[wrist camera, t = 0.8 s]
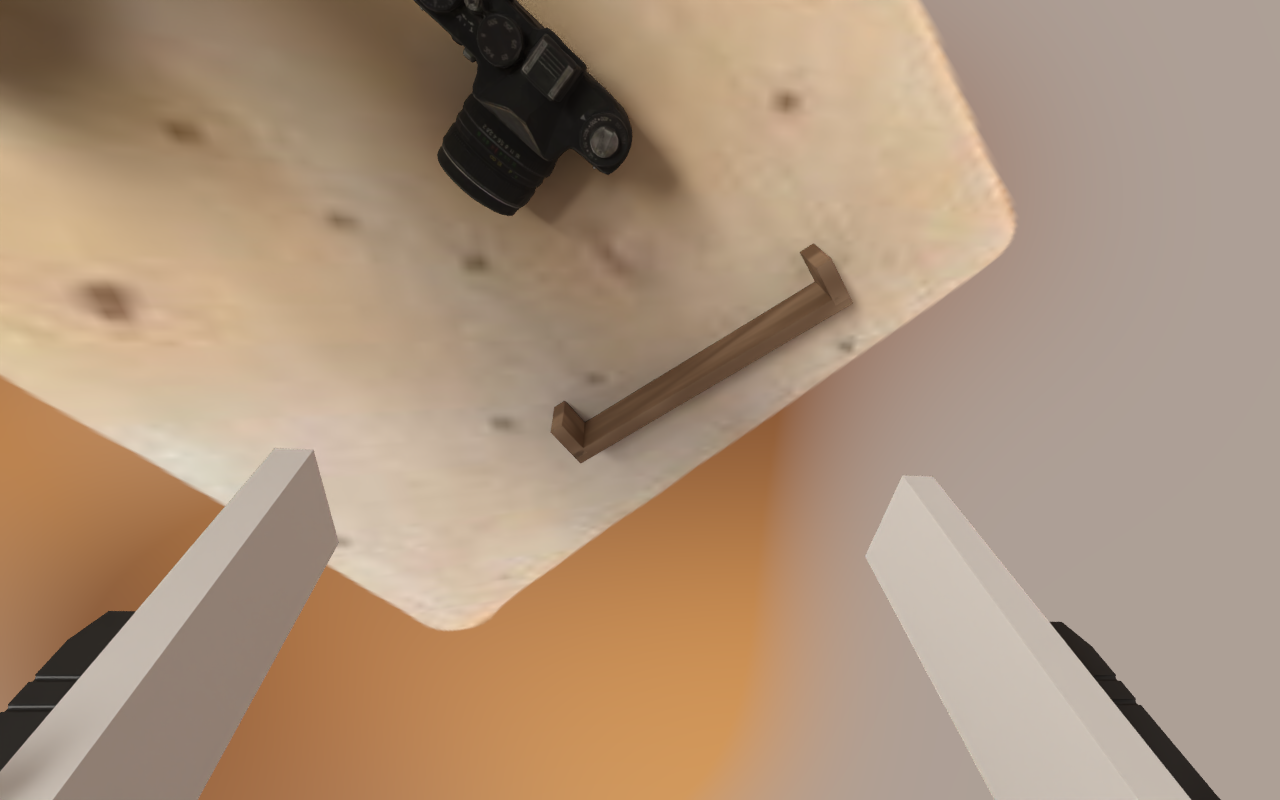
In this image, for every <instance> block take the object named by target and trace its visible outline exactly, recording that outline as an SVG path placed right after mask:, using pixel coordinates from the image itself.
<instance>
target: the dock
mask: <svg viewBox="0 0 1280 800" xmlns="http://www.w3.org/2000/svg"><path fill="white" fill-rule="evenodd" d="M800 253H801V255H802V257H803V259H804V261H805V263H806V265H807V267H808V269H809V271H810V273H811V275H812V277H813V278H814V280H815V282H814V283H812V284H811V285H809V286H807V287H806V288H804V289H802V290H801V291H799V292H798V293H796V294H794V295H793V296H791V297H789V298H788V299H786V300H784V301H783V302H781V303H780V304H778V305H776V306H775V307H773V308H771V309H770V310H768V311H767V312H765V313H763V314H762V315H760V316H758V317H757V318H755V319H753V320H752V321H750V322H749V323H747V324H745V325H744V326H742V327H740V328H739V329H737V330H735V331H734V332H732V333H731V334H729V335H727V336H726V337H724V338H722V339H721V340H719V341H717V342H716V343H714V344H713V345H711V346H709V347H708V348H706V349H704V350H703V351H701V352H699V353H698V354H696V355H695V356H693V357H691V358H690V359H688V360H686V361H685V362H683V363H681V364H680V365H678V366H677V367H675V368H673V369H672V370H670V371H668V372H667V373H665V374H663V375H662V376H660V377H659V378H657V379H655V380H654V381H652V382H650V383H649V384H647V385H645V386H644V387H642V388H641V389H639V390H637V391H636V392H634V393H632V394H631V395H629V396H627V397H626V398H624V399H623V400H621V401H619V402H618V403H616V404H614V405H613V406H611V407H609V408H608V409H606V410H605V411H603V412H601V413H600V414H598V415H596V416H595V417H593V418H591V419H590V420H588V421H587V422H584V421H583V420H582V419H581V418H580V417H579V416H578V415H577V414H576V413H575V411H574V410H573V409H572V408H571V407H570V406H569V405H568V404H567V403H566V402H565V401H564V402H562V403H560V404H559V405H557V406H556V407H554V414H553V421H552V427H551V433H552V434H553V435H554V436H555V437H556V438H557V439H558V440H559V442H560V443H561V444H562V445H563V446H564V447H565V448H566V449H567V450H568V451H569V452H570V453H571V454H572V455H573V456H574V457H575V458H576V459H577V460H578V461H579V462H580V463H582V462H584V461H586V460H587V459H589V458H591V457H592V456H594V455H596V454H598V453H599V452H601V451H603V450H604V449H606V448H608V447H609V446H611V445H613V444H615V443H616V442H618V441H620V440H621V439H623V438H625V437H626V436H628V435H630V434H632V433H633V432H635V431H637V430H638V429H640V428H642V427H643V426H645V425H647V424H649V423H650V422H652V421H654V420H655V419H657V418H659V417H660V416H662V415H664V414H666V413H667V412H669V411H671V410H672V409H674V408H676V407H677V406H679V405H681V404H683V403H684V402H686V401H688V400H689V399H691V398H693V397H694V396H696V395H698V394H700V393H701V392H703V391H705V390H706V389H708V388H710V387H711V386H713V385H715V384H717V383H718V382H720V381H722V380H723V379H725V378H727V377H728V376H730V375H732V374H734V373H735V372H737V371H739V370H740V369H742V368H744V367H745V366H747V365H749V364H751V363H752V362H754V361H756V360H757V359H759V358H761V357H762V356H764V355H766V354H768V353H769V352H771V351H773V350H774V349H776V348H778V347H779V346H781V345H783V344H785V343H786V342H788V341H790V340H791V339H793V338H795V337H796V336H798V335H800V334H802V333H803V332H805V331H807V330H808V329H810V328H812V327H813V326H815V325H817V324H819V323H820V322H822V321H824V320H825V319H827V318H829V317H830V316H832V315H834V314H836V313H837V312H839V311H841V310H842V309H844V308H846V307H847V306H849V305H851V304H853V302H852V300H851V298H850V296H849V294H848V292H847V290H846V288H845V286H844V284H843V281H842V279H841V277H840V275H839V273H838V271H837V269H836V267H835V265H834V263H833V261H832V259H831V258H830V257H829V256H827V255H826V254H825V253H824V252H823V251H822V250H820V249H819V248H818V247H817V246H816V245H815V244H812V245H810V246H809V247H807V248H806V249H804V250H803V251H801V252H800Z"/></svg>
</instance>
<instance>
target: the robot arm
mask: <svg viewBox="0 0 1280 800" xmlns="http://www.w3.org/2000/svg"><path fill="white" fill-rule="evenodd" d="M338 543H339V542H338V538H337V535H336V531H335V527H334V523H333V520H332V516H331V512H330V509H329V505H328V501H327V498H326V494H325V490H324V487H323V483H322V479H321V476H320V472H319V468H318V465H317V461H316V457H315V454H314V450H306V449H283V448H274V450H273V451H272V452H271V453H270V454H269V455H268V457H267V458H266V459H265V460H264V461H263V462H262V464H261V465H260V466H259V467H258V468H257V470H256V471H255V472H254V473H253V474H252V475H251V477H250V478H249V479H248V480H247V481H246V483H245V484H244V485H243V486H242V487H241V488H240V490H239V491H238V492H237V493H236V494H235V495H234V497H233V498H232V499H231V500H230V501H229V503H228V504H227V505H226V506H225V507H224V509H223V510H222V511H221V512H220V513H219V514H218V515H217V517H216V518H215V519H214V520H213V521H212V523H211V524H210V525H209V526H208V527H207V529H206V530H205V531H204V532H203V533H202V534H201V536H200V537H199V538H198V539H197V540H196V542H195V543H194V544H193V545H192V546H191V547H190V548H189V550H188V551H187V552H186V553H185V554H184V556H183V557H182V558H181V559H180V560H179V561H178V563H177V564H176V565H175V566H174V567H173V569H172V570H171V571H170V572H169V573H168V574H167V576H166V577H165V578H164V579H163V580H162V582H161V583H160V584H159V585H158V586H157V587H156V589H155V590H154V591H153V592H152V593H151V594H150V596H149V597H148V598H147V599H146V600H145V602H144V603H143V604H142V605H141V606H140V607H139V609H138V610H137V611H108V612H107V613H105V614H104V615H102V616H101V617H100V618H98V619H97V620H95V621H94V622H93V623H91V624H90V625H88V626H87V627H86V628H84V629H83V630H81V631H80V632H78V633H77V634H76V635H74V636H73V637H71V638H70V639H68V640H67V641H66V642H65V644H64V645H63V646H62V647H61V648H60V649H59V650H58V651H57V652H56V653H55V654H54V655H53V656H52V657H51V659H50V660H49V661H48V662H47V663H46V664H45V665H44V666H43V667H42V669H40V670H39V671H38V673H37V674H36V677H35V680H34V681H33V682H28V683H27V685H26V686H25V687H24V688H23V689H22V690H21V691H20V692H19V693H18V694H17V695H16V697H14V699H13V700H12V701H11V702H10V703H9V704H8V709H7V710H6V711H5V712H1V713H0V800H198V798H199V796H200V794H201V793H202V790H203V789H204V787H205V785H206V783H207V782H208V780H209V778H210V776H211V774H212V773H213V770H214V769H215V767H216V765H217V763H218V762H219V760H220V758H221V756H222V754H223V752H224V751H225V749H226V747H227V745H228V743H229V742H230V740H231V738H232V736H233V734H234V732H235V730H236V729H237V727H238V725H239V723H240V722H241V720H242V718H243V716H244V714H245V712H246V711H247V709H248V707H249V705H250V703H251V701H252V700H253V698H254V696H255V694H256V692H257V690H258V689H259V687H260V685H261V683H262V681H263V680H264V678H265V676H266V674H267V672H268V670H269V669H270V667H271V665H272V663H273V661H274V660H275V658H276V656H277V654H278V652H279V650H280V649H281V647H282V645H283V643H284V641H285V640H286V638H287V636H288V634H289V632H290V630H291V628H292V627H293V625H294V623H295V621H296V619H297V618H298V616H299V614H300V612H301V610H302V608H303V607H304V605H305V603H306V601H307V599H308V598H309V596H310V594H311V592H312V590H313V589H314V587H315V585H316V583H317V581H318V579H319V578H320V576H321V574H322V572H323V570H324V568H325V567H326V565H327V563H328V561H329V559H330V558H331V556H332V554H333V552H334V550H335V548H336V547H337V545H338ZM865 557H866V559H867V561H868V563H869V565H870V567H871V569H872V571H873V572H874V574H875V576H876V578H877V580H878V582H879V583H880V586H881V588H882V589H883V591H884V593H885V595H886V597H887V599H888V601H889V603H890V604H891V606H892V608H893V610H894V612H895V614H896V616H897V618H898V620H899V621H900V623H901V625H902V627H903V629H904V631H905V633H906V635H907V636H908V638H909V640H910V642H911V644H912V646H913V648H914V650H915V651H916V653H917V655H918V657H919V659H920V661H921V663H922V665H923V666H924V668H925V670H926V672H927V674H928V676H929V678H930V680H931V682H932V683H933V685H934V687H935V689H936V691H937V693H938V695H939V697H940V698H941V700H942V702H943V704H944V706H945V708H946V710H947V711H948V713H949V715H950V717H951V719H952V721H953V723H954V725H955V727H956V729H957V730H958V732H959V734H960V736H961V738H962V740H963V742H964V744H965V746H966V747H967V749H968V751H969V753H970V755H971V757H972V759H973V761H974V762H975V764H976V766H977V768H978V770H979V772H980V774H981V776H982V777H983V779H984V781H985V783H986V785H987V787H988V789H989V791H990V793H991V794H992V796H993V798H994V800H1220V798H1218V796H1217V795H1216V794H1215V793H1214V792H1213V790H1212V789H1211V788H1210V787H1209V786H1208V784H1207V783H1206V782H1205V781H1204V780H1203V778H1202V777H1201V776H1200V775H1199V774H1198V773H1197V771H1196V770H1195V769H1194V768H1193V767H1192V765H1191V764H1190V763H1189V762H1188V761H1187V759H1186V758H1185V757H1184V756H1183V755H1182V753H1181V752H1180V751H1179V750H1178V749H1177V748H1176V746H1175V745H1174V744H1173V743H1172V741H1171V740H1170V739H1169V738H1168V737H1167V736H1166V734H1165V733H1164V732H1163V731H1162V730H1161V728H1160V727H1159V726H1158V725H1157V724H1156V722H1155V721H1154V720H1153V719H1152V718H1151V716H1150V715H1149V714H1148V713H1147V712H1146V711H1145V710H1144V708H1143V707H1142V706H1141V705H1138V704H1136V701H1135V700H1136V699H1135V697H1134V696H1133V695H1132V694H1131V693H1130V691H1129V690H1128V689H1127V688H1126V687H1125V685H1124V684H1123V683H1122V682H1121V681H1117V680H1116V677H1115V676H1116V675H1115V673H1114V672H1113V671H1112V670H1111V669H1110V668H1109V666H1108V665H1107V664H1106V663H1105V662H1104V660H1103V659H1102V658H1101V657H1100V656H1099V654H1098V653H1097V652H1096V651H1095V650H1094V648H1093V647H1092V646H1091V645H1089V644H1088V643H1087V642H1086V641H1084V640H1083V639H1082V638H1081V637H1080V636H1078V635H1077V634H1076V633H1075V632H1073V631H1072V630H1071V629H1070V628H1068V627H1067V626H1066V625H1065V624H1064V623H1062V622H1049V621H1048V620H1047V619H1046V617H1045V616H1044V615H1043V614H1042V612H1041V611H1040V610H1039V609H1038V607H1037V606H1036V605H1035V604H1034V602H1033V601H1032V600H1031V599H1030V597H1029V596H1028V595H1027V594H1026V592H1025V591H1024V590H1023V589H1022V587H1021V586H1020V585H1019V584H1018V582H1017V581H1016V580H1015V579H1014V577H1013V576H1012V575H1011V573H1010V572H1009V571H1008V570H1007V569H1006V567H1005V566H1004V565H1003V564H1002V562H1001V561H1000V560H999V558H998V557H997V556H996V555H995V553H994V552H993V551H992V550H991V549H990V547H989V546H988V545H987V543H985V541H984V540H983V538H982V537H981V536H980V535H979V533H978V532H977V531H976V530H975V528H974V527H973V526H972V525H971V524H970V522H969V521H968V520H967V518H966V517H965V516H964V515H963V513H962V512H961V511H960V510H959V508H958V507H957V506H956V505H955V504H954V502H953V501H952V500H951V499H950V497H949V496H948V495H947V493H946V492H945V491H944V490H943V488H942V487H941V486H940V485H939V483H938V482H937V481H936V480H935V478H934V477H933V476H911V475H902V477H901V480H900V482H899V484H898V486H897V488H896V490H895V492H894V495H893V497H892V499H891V502H890V503H889V505H888V507H887V510H886V512H885V514H884V516H883V518H882V521H881V523H880V525H879V527H878V529H877V531H876V533H875V536H874V538H873V540H872V542H871V544H870V546H869V549H868V551H867V553H866V555H865Z"/></svg>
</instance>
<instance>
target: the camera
mask: <svg viewBox="0 0 1280 800" xmlns="http://www.w3.org/2000/svg"><path fill="white" fill-rule="evenodd" d="M414 1H415V2H416V3H417V4H418V5H419V6H420V9H421V10H422V11H423V10H424V11H425V12H426V13H428V14H429V15H430V16H431V17H432V18H433V19H434V20H435V21H436V22H438V23H439V24H440V25H441V26H442V27H443V28H444V29H445V30H446V31H447V32H448V33H449V34H450V35H451V36H452V39H453V40H454V41H455V42H457V43H458V44H459V45H463V46H464V47H465V48H464V51H463V55H464V56H465V57H466V58H467V59H468V60H470V61H471V62H475V61H477V64H478V68H477V75H476V78H475V81H474V84H473V92H472V94H470V96H469V97H468V98H467V99H466V101H465V102H464V105H463V110H462V111H461V112H459V113H458V116H457V119H456V122H455V123H453V124H452V126H451V127H450V129H449V130H448V132H447V133H446V135H445V136H444V138H443V144H442V146H441V148H440V149H439V151H438V154H437V157H438V161H439V163H440V165H441V167H442V168H443V170H444V171H445V172H446V174H447V175H448V176H449V177H450V178H451V179H452V180H453V181H454V182H455V183H456V184H457V185H458V186H459V187H460V188H461V189H462V190H463V191H464V192H465V193H467V194H468V195H469V196H470V197H471V198H473V199H474V200H476V201H477V202H479V203H480V204H482V205H484V206H486V207H487V208H489V209H491V210H493V211H494V212H497V213H499V214H502V215H507V216H512V215H514V214H515V212H516V211H517V210H518V209H519V208H521V207H523V206H524V205H525V204H526V203H527V202H528V201H529V200H530V198H531V197H532V196H533V194H534V193H535V189H536V187H538V186H540V185H541V184H542V182H543V179H544V178H545V177H548V176H550V174H551V173H552V171H553V169H554V166H555V163H556V161H557V159H558V158H559V157H560V156H561V155H562V154H563V153H564V152H565V151H566V150H567V149H569V148H570V149H573V150H575V151H576V152H577V153H579V154H580V155H581V156H583V157H584V158H585V159H586V160H587V161H588V162H589V163H590V164H592V165H593V169H595V168H596V169H598V170H599V171H601V172H603V173H605V174H607V175H609V174H611V173H612V172H613V171H615V170H616V169H617V168H618V167H619V166H620V165H621V164H622V163H623V161H624V160H625V158H626V157H627V155H628V153H629V150H630V147H631V142H632V129H631V125H630V122H629V119H628V116H627V114H626V112H625V110H624V108H623V107H622V106H621V105H620V104H619V103H618V102H617V101H616V100H615V99H614V98H613V96H612V95H611V94H610V93H609V92H608V91H607V90H606V89H605V88H604V87H603V86H602V85H601V84H599V83H598V82H597V81H596V80H595V79H594V78H593V77H592V76H591V75H590V74H589V73H588V72H587V71H586V69H587V67H586V65H585V63H584V62H583V61H582V60H580V59H579V58H578V57H577V56H576V55H575V54H574V53H573V52H572V51H571V50H570V49H569V48H568V47H567V46H566V45H565V44H564V43H563V42H562V41H561V39H560V38H559V37H558V36H557V35H556V34H555V33H554V32H553V31H552V30H550V29H549V28H544V27H543V26H542V25H541V24H540V23H539V22H538V21H537V20H536V19H535V18H534V17H533V16H532V15H531V14H530V13H529V12H527V11H526V10H525V9H524V8H523V7H522V6H521V5H520V4H519V2H518V1H517V0H414Z"/></svg>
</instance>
